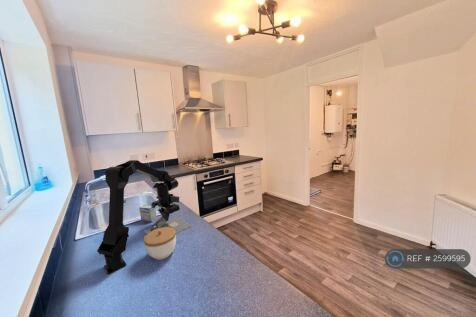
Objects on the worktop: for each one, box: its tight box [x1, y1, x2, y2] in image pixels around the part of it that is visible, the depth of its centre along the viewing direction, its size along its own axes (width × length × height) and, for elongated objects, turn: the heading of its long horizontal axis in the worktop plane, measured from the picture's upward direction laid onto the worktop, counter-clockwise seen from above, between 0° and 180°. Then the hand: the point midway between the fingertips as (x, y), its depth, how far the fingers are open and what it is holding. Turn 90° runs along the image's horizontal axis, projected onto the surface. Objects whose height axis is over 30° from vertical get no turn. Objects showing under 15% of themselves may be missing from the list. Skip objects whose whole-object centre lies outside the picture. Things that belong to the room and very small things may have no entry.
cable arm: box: [149, 215, 167, 231], centre depth 103 cm, size 3×14×4 cm, turn 171°
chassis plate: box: [143, 216, 192, 236], centre depth 103 cm, size 15×19×2 cm
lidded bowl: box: [143, 227, 177, 261], centre depth 82 cm, size 13×13×11 cm
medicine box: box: [138, 204, 158, 223], centre depth 115 cm, size 8×4×9 cm, turn 73°
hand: (167, 220), depth 106 cm, fingers closed
